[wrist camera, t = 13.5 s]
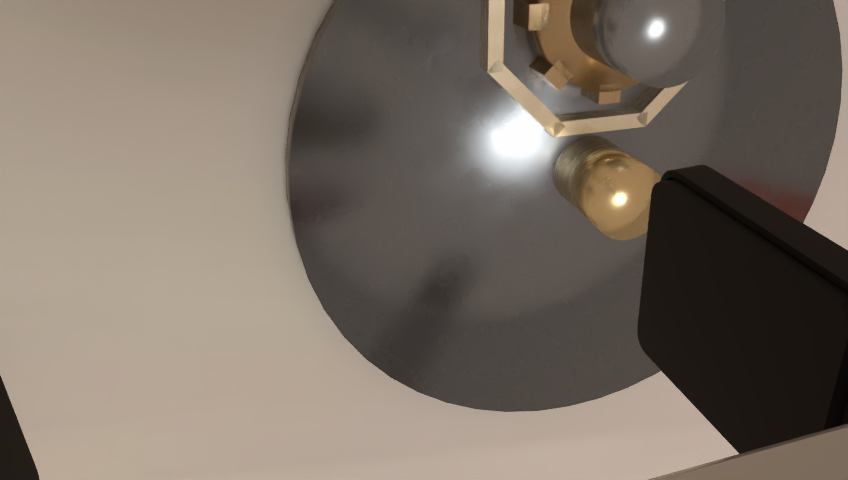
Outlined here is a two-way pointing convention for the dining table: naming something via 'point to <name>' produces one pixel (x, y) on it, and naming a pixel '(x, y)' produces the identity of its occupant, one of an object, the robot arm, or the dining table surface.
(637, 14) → the gear
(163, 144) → the dining table surface
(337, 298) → the carrier plate
